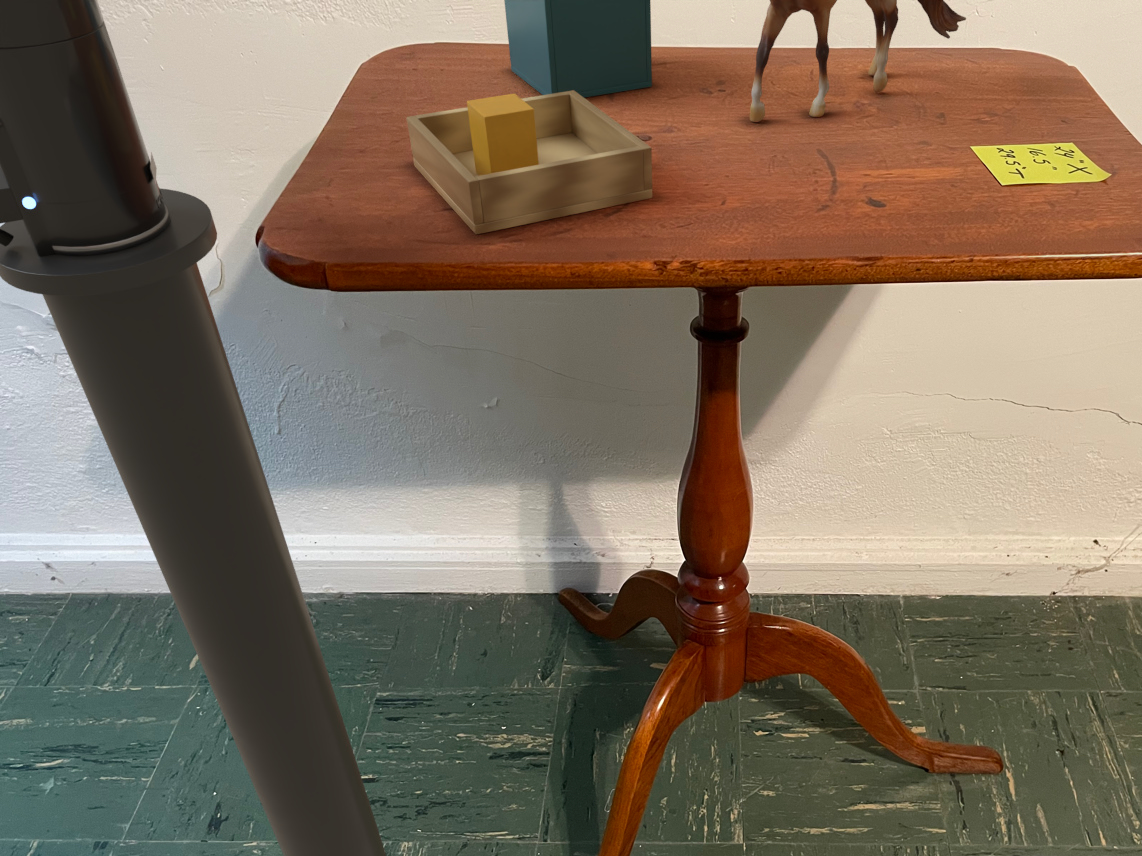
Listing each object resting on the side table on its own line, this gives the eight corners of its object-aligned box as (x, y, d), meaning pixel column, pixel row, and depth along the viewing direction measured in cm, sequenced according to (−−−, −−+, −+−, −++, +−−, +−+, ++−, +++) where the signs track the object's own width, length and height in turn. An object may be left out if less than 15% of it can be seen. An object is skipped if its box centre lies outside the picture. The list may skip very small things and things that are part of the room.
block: (493, 190, 89) (484, 116, 85) (475, 172, 92) (466, 100, 88) (540, 181, 91) (534, 108, 87) (521, 164, 93) (514, 93, 89)
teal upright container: (552, 103, 107) (543, -13, 101) (511, 70, 115) (500, -40, 108) (652, 86, 112) (650, -26, 105) (606, 56, 119) (601, -50, 112)
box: (475, 235, 84) (468, 181, 82) (414, 166, 95) (405, 116, 92) (652, 198, 90) (651, 147, 88) (577, 137, 101) (573, 89, 98)
